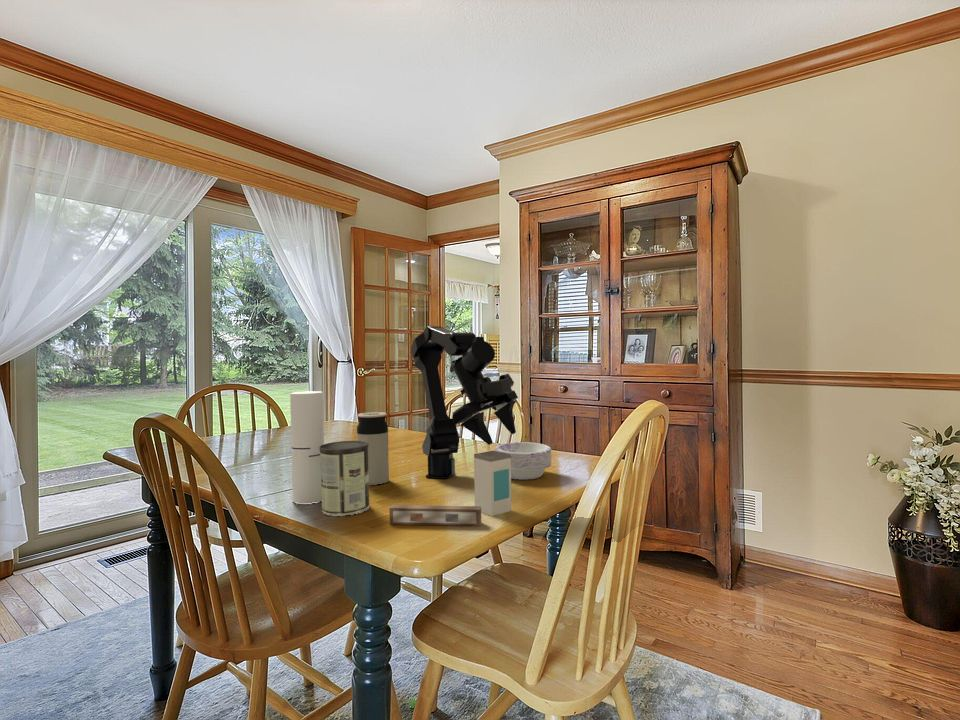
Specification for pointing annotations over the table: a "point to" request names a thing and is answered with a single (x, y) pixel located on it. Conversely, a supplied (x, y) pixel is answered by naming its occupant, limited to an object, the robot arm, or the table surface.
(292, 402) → the cylindrical container
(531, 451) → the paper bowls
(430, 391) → the robot arm
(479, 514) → the brown wooden bar
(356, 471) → the coffee can
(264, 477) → the table surface
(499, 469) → the carton
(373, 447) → the travel mug
